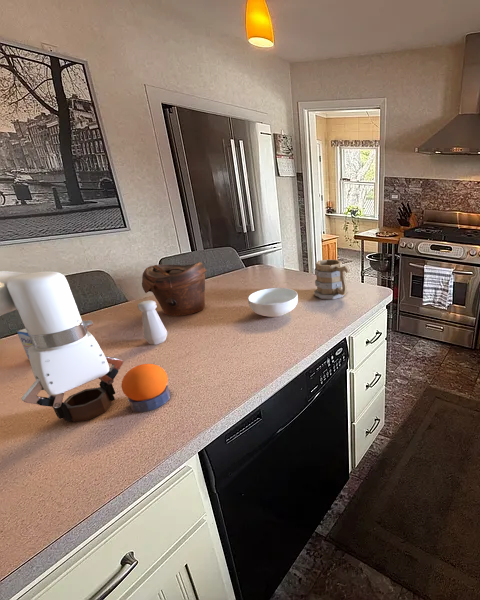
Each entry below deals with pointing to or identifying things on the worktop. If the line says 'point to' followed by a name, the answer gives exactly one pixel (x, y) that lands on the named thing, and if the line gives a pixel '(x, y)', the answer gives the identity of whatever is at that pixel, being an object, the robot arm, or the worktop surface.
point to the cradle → (150, 402)
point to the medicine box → (25, 340)
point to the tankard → (330, 279)
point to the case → (176, 287)
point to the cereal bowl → (273, 301)
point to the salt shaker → (152, 323)
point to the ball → (144, 382)
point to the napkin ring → (88, 404)
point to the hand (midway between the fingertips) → (89, 407)
